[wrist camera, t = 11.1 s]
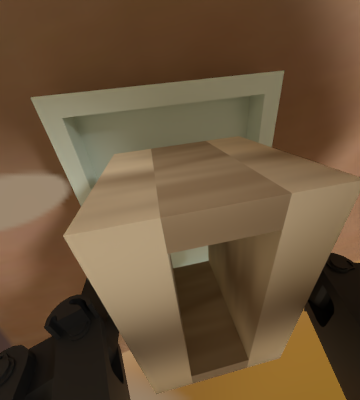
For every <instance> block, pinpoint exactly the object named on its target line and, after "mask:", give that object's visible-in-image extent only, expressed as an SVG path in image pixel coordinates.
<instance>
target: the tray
mask: <svg viewBox="0 0 360 400" xmlns="http://www.w3.org/2000/svg"><path fill="white" fill-rule="evenodd" d="M283 76H284V70H283V71H274V72H265V73H255V74H246V75H236V76H227V77H217V78H208V79H199V80H189V81H180V82H170V83H161V84H151V85H142V86H132V87H123V88H114V89H104V90H95V91H85V92H76V93H66V94H57V95H48V96H38V97H30V98H31V100H32V102H33V105H34V107H35V109H36V111H37V113H38V115H39V118H40V120H41V122H42V124H43V126H44V128H45V130H46V133H47V135H48V137H49V139H50V141H51V143H52V145H53V148H54V150H55V152H56V154H57V156H58V158H59V160H60V163H61V165H62V167H63V169H64V171H65V173H66V176H67V178H68V180H69V182H70V184H71V186H72V188H73V191H74V193H75V195H76V197H77V199H78V201H79V203H80V206H82V205H83V203H84V201H85V200H86V198H87V197H88V195H89V193H90V192H91V190H92V189H93V187H94V185H95V184H96V182H97V181H98V179H99V177H100V176H101V174H102V173H103V171H104V169H105V168H106V166H107V165H108V163H109V161H110V160H111V158H112V157H113V155H114V154H118V153H125V152H132V151H139V150H146V149H153V148H160V147H167V146H174V145H180V144H187V143H194V142H201V141H208V140H215V139H222V138H229V137H236V136H240V137H243V138H246V139H249V140H252V141H255V142H258V143H261V144H264V145H266V146H269V147H272V143H273V137H274V131H275V125H276V118H277V112H278V106H279V100H280V94H281V88H282V82H283ZM170 254H171V260H172V265H173V268H177V267H182V266H186V265H191V264H196V263H200V262H205V261H209V258H208V246H203V247H198V248H194V249H189V250H184V251H179V252H175V253H170Z"/></svg>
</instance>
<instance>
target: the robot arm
mask: <svg viewBox="0 0 360 400" xmlns="http://www.w3.org/2000/svg"><path fill="white" fill-rule="evenodd" d="M304 311H307V313H308V315H309V318H310V320H311V322H312V324H313V326H314V329H315V331H316V333H317V335H318V338H319V339H320V342H321V344H322V346H323V349H324V351H325V353H326V355H327V357H328V360H329V362H330V364H331V366H332V368H333V371H334V373H335V375H336V377H337V379H338V382H339V384H340V386H341V388H342V391H343V392H344V395H345V397H346V399H347V400H360V263H353V262H352V261H351V260H349V259H347V258H346V257H344V256H341V255H338V254H335V253H330V255H329V257H328V259H327V261H326V263H325V266H324V268H323V270H322V272H321V274H320V276H319V278H318V280H317V282H316V284H315V286H314V288H313V290H312V292H311V294H310V297H309V299H308V301H307V303H306V305H305V307H304ZM44 328H45V329H46V330H47V331H48V332H49V333H50V334H51V335H52V337H50V338H48V339H46V340H45V341H43V342H41V343H39V344H37V345H36V346H34V347H32V348H30V349H27V348H26V347H24V346H22V345H18V346H13V347H11V348H8V349H6V350H4V351H3V352H1V353H0V400H130V395H129V390H128V385H127V380H126V375H125V369H124V364H123V359H122V354H121V349H120V346H119V344H118V337H119V330H118V329H117V327H116V325H115V324H114V322H113V320H112V318H111V317H110V315H109V313H108V312H107V310H106V308H105V307H104V305H103V303H102V301H101V300H100V298H99V296H98V295H97V293H96V291H95V290H94V288H93V286H92V285H91V283H90V281H89V279H88V278H87V279H86V282H85V285H84V288H83V291H82V294H81V295H75V296H72V297H69V298H67V299H66V300H64V301H63V302H61V303H60V304H59V305H58V306H57V307H56V308H55V309H54V310H53V311H52V312H51V314H50V315H49V317H48V318H47V320H46V323H45V326H44Z"/></svg>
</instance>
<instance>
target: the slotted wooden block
mask: <svg viewBox="0 0 360 400" xmlns="http://www.w3.org/2000/svg"><path fill="white" fill-rule="evenodd" d="M359 193H360V177H358V176H355V175H352V174H349V173H346V172H343V171H340V170H337V169H334V168H331V167H328V166H325V165H322V164H319V163H317V162H314V161H311V160H308V159H305V158H302V157H299V156H296V155H293V154H290V153H287V152H284V151H281V150H278V149H275V148H272V147H269V146H266V145H264V144H261V143H258V142H255V141H252V140H249V139H246V138H243V137H240V136H236V137H229V138H222V139H215V140H208V141H201V142H194V143H187V144H180V145H174V146H167V147H160V148H153V149H146V150H139V151H132V152H125V153H118V154H114V155H113V157H112V158H111V160H110V161H109V163H108V165H107V166H106V168H105V169H104V171H103V173H102V174H101V176H100V177H99V179H98V181H97V182H96V184H95V185H94V187H93V189H92V190H91V192H90V193H89V195H88V197H87V198H86V200H85V201H84V203H83V205H82V206H81V208H80V210H79V211H78V213H77V214H76V216H75V218H74V219H73V221H72V222H71V224H70V226H69V227H68V229H67V230H66V232H65V234H64V235H63V237H64V239H65V240H66V242H67V244H68V245H69V247H70V249H71V251H72V252H73V254H74V256H75V257H76V259H77V261H78V262H79V264H80V266H81V268H82V269H83V271H84V273H85V274H86V276H87V278H88V279H89V281H90V283H91V285H92V286H93V288H94V290H95V291H96V293H97V295H98V296H99V298H100V300H101V301H102V303H103V305H104V307H105V308H106V310H107V312H108V313H109V315H110V317H111V318H112V320H113V322H114V324H115V325H116V327H117V329H118V330H119V332H120V334H121V335H122V337H123V339H124V340H125V342H126V344H127V346H128V347H129V349H130V351H131V352H132V354H133V356H134V357H135V359H136V361H137V363H138V364H139V366H140V367H141V369H142V371H143V373H144V374H145V376H146V378H147V379H148V381H149V383H150V384H151V386H152V388H153V390H154V391H155V393H156V394H159V393H162V392H165V391H169V390H172V389H176V388H179V387H182V386H186V385H189V384H193V383H196V382H200V381H203V380H206V379H210V378H213V377H217V376H220V375H223V374H227V373H230V372H234V371H237V370H241V369H244V368H247V367H251V366H254V365H258V364H261V363H265V362H268V361H271V360H275V359H278V358H280V356H281V354H282V352H283V350H284V348H285V346H286V344H287V342H288V340H289V338H290V336H291V334H292V332H293V330H294V327H295V325H296V323H297V321H298V319H299V317H300V315H301V313H302V311H303V309H304V307H305V305H306V303H307V301H308V299H309V297H310V294H311V292H312V290H313V288H314V286H315V284H316V282H317V280H318V278H319V276H320V274H321V272H322V270H323V268H324V266H325V263H326V261H327V259H328V257H329V255H330V253H331V251H332V249H333V247H334V245H335V243H336V241H337V239H338V237H339V235H340V232H341V230H342V228H343V226H344V224H345V222H346V220H347V218H348V216H349V214H350V212H351V210H352V208H353V206H354V204H355V201H356V199H357V197H358V195H359ZM203 246H208V258H209V261H205V262H200V263H196V264H191V265H186V266H182V267H177V268H173V265H172V260H171V254H170V253H175V252H179V251H184V250H189V249H194V248H198V247H203Z"/></svg>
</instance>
